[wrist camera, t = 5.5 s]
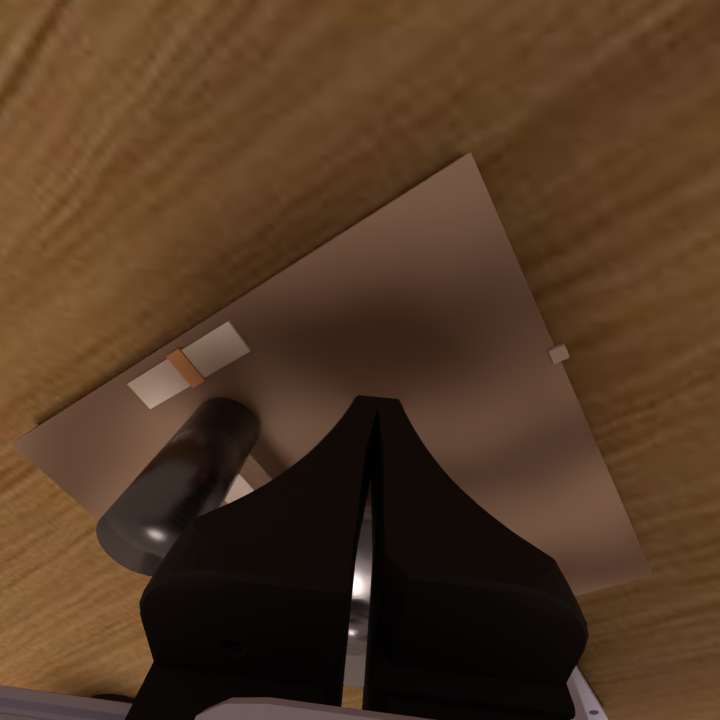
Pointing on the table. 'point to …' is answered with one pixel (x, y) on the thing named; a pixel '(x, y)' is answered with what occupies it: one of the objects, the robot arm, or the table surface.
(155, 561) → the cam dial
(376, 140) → the table surface
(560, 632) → the robot arm
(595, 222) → the table surface
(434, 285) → the brown square panel
